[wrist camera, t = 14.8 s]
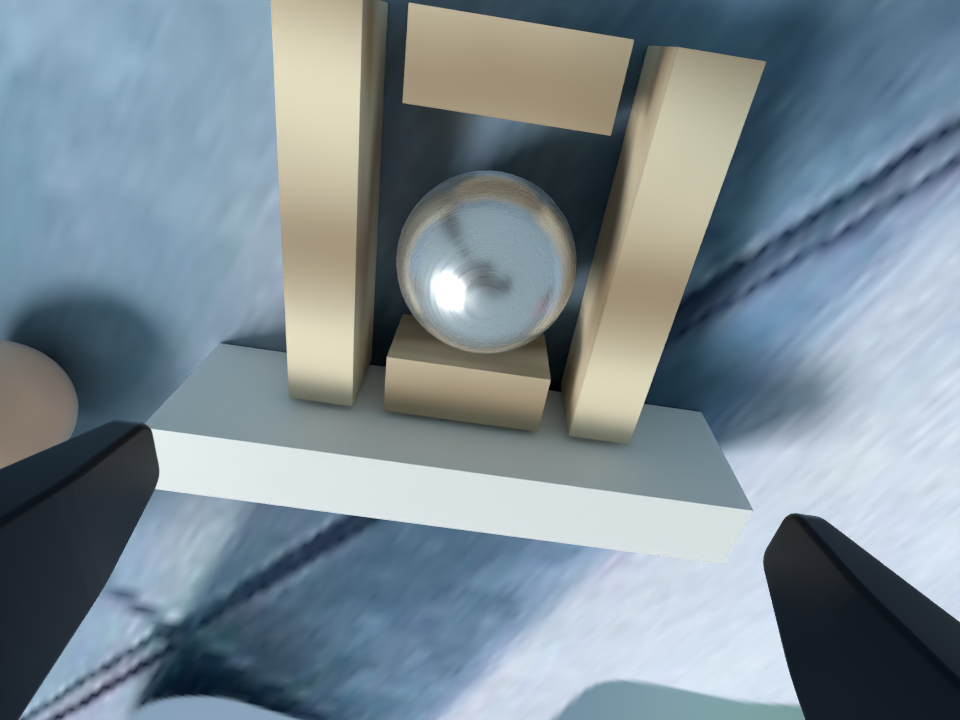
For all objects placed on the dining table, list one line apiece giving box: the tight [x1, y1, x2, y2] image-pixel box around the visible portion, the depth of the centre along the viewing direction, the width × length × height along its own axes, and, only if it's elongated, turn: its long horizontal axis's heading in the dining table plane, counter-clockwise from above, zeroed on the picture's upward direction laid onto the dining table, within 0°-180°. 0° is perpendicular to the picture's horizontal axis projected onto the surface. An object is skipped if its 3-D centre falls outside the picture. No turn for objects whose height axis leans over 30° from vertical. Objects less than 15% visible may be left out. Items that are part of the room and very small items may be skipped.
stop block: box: [144, 343, 753, 564], centre depth 19 cm, size 2×18×5 cm, turn 82°
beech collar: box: [271, 0, 766, 444], centre depth 16 cm, size 11×11×3 cm
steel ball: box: [396, 170, 577, 354], centre depth 15 cm, size 5×5×5 cm
